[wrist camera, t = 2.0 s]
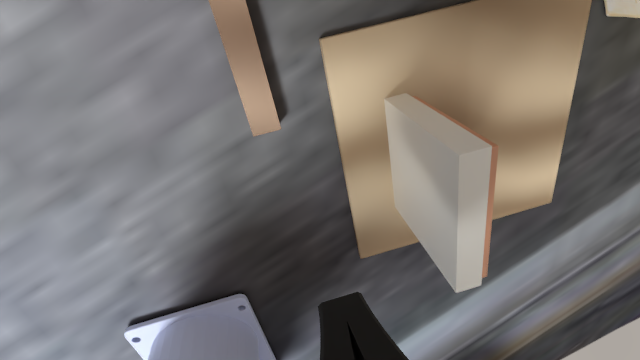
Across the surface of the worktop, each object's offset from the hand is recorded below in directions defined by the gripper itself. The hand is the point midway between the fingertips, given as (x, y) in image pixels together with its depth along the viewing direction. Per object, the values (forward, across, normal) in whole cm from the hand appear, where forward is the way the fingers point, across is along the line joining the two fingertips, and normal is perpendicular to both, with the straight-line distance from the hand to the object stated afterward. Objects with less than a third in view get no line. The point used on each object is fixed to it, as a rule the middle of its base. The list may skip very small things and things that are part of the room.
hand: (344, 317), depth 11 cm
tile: (+9, -6, 0) cm, 11 cm away
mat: (+10, -10, 0) cm, 13 cm away
